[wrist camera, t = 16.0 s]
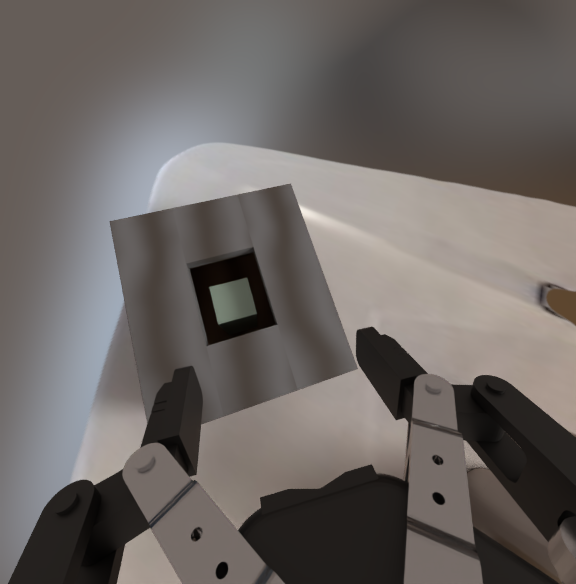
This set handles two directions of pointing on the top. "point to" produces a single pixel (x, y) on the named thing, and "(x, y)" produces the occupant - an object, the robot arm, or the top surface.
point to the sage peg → (234, 306)
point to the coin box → (200, 310)
